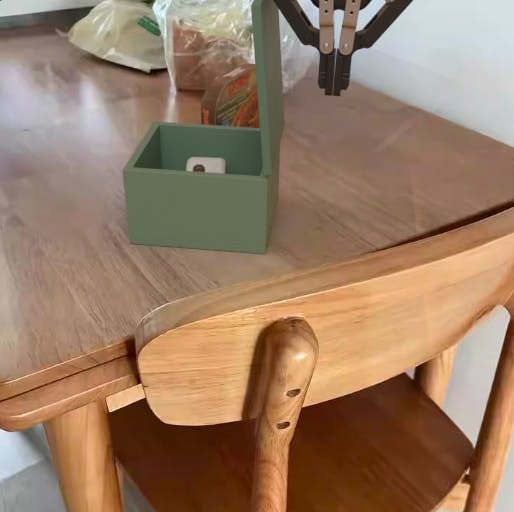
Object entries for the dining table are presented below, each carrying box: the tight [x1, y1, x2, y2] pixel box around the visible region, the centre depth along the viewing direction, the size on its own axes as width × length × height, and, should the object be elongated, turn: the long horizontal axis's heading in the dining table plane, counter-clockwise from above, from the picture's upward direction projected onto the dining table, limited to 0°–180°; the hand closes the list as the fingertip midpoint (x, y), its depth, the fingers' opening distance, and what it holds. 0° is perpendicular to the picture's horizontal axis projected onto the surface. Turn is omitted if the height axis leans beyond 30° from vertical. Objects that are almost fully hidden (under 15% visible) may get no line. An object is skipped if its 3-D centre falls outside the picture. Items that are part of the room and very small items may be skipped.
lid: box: [250, 0, 286, 175], centre depth 67 cm, size 14×13×1 cm
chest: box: [122, 120, 281, 255], centre depth 75 cm, size 14×13×8 cm
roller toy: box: [186, 157, 227, 174], centre depth 75 cm, size 4×6×6 cm
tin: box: [200, 63, 260, 128], centre depth 93 cm, size 15×3×8 cm, turn 151°
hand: (332, 93), depth 68 cm, fingers closed
